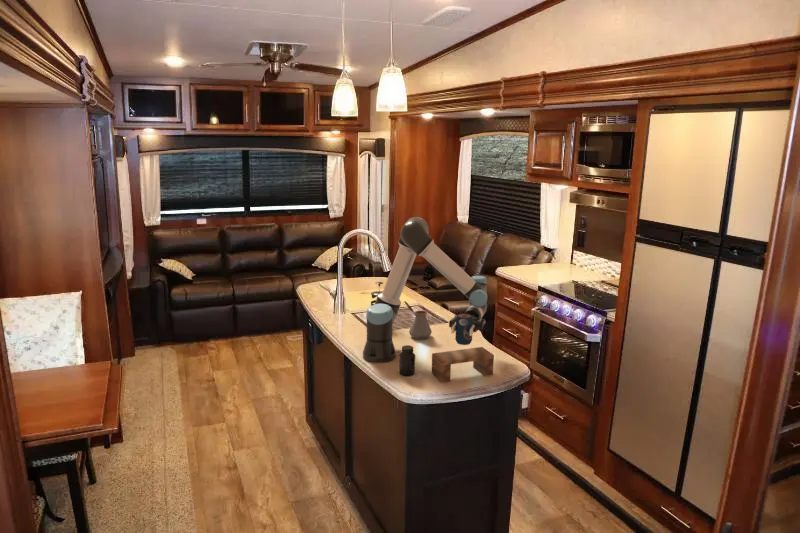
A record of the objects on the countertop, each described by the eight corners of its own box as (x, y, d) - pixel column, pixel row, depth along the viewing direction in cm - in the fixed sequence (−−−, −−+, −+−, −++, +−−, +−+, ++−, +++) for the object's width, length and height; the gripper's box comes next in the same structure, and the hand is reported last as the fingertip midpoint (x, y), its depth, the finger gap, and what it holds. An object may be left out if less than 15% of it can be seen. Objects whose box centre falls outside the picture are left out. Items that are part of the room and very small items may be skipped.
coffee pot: (436, 338, 275) (436, 309, 271) (417, 342, 269) (417, 313, 265) (412, 326, 292) (413, 299, 289) (394, 329, 286) (394, 302, 283)
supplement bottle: (395, 374, 231) (396, 347, 228) (404, 369, 236) (405, 343, 234) (409, 378, 227) (410, 351, 224) (418, 373, 233) (418, 346, 230)
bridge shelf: (441, 382, 223) (442, 362, 221) (431, 373, 232) (432, 353, 231) (492, 374, 232) (493, 355, 230) (481, 366, 241) (482, 346, 239)
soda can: (467, 346, 224) (468, 319, 222) (452, 343, 228) (453, 315, 226) (474, 342, 230) (475, 314, 227) (460, 338, 234) (461, 311, 231)
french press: (387, 326, 291) (387, 285, 285) (369, 326, 291) (369, 284, 286) (388, 319, 302) (388, 279, 297) (371, 319, 302) (371, 279, 297)
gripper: (494, 326, 242) (485, 343, 221) (451, 321, 248) (437, 337, 227) (495, 309, 240) (485, 325, 219) (451, 305, 247) (438, 320, 225)
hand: (461, 331), depth 223 cm, fingers closed on soda can, 7 cm apart
